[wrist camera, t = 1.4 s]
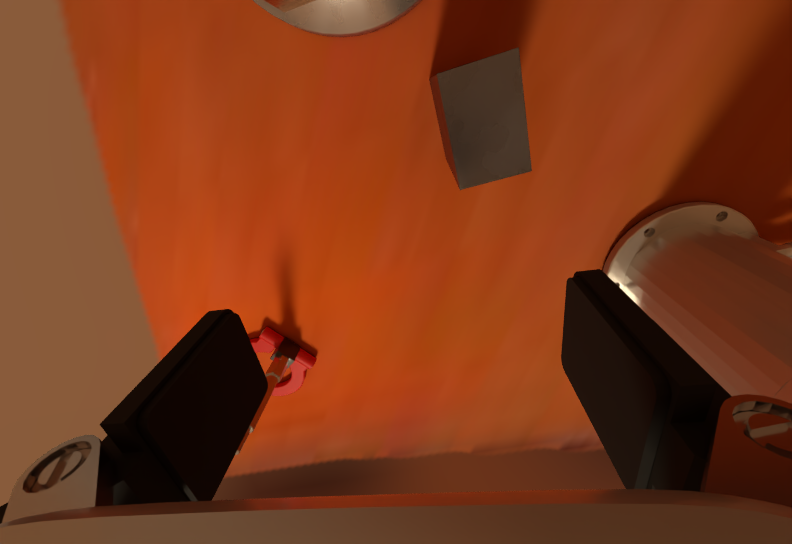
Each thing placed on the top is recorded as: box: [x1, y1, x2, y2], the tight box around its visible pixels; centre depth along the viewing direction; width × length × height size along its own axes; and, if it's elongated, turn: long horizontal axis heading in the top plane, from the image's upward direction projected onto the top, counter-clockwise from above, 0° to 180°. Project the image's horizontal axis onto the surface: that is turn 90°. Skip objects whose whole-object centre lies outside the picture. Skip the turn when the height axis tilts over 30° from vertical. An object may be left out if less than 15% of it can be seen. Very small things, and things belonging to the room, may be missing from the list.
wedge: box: [429, 47, 532, 190], centre depth 23 cm, size 4×6×10 cm, turn 16°
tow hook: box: [235, 327, 316, 455], centre depth 35 cm, size 8×13×9 cm
